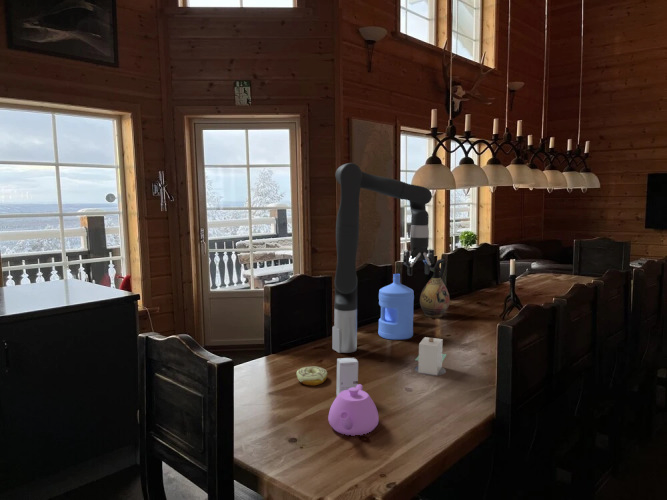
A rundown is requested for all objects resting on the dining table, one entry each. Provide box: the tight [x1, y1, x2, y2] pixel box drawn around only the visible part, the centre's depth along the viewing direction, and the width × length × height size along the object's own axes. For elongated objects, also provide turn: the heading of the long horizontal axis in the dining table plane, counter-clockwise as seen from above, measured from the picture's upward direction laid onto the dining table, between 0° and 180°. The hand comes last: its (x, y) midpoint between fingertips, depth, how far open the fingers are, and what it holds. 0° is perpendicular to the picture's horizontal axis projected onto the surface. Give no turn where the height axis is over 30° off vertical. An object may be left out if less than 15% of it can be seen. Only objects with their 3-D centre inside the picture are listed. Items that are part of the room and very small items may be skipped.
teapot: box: [327, 383, 380, 437], centre depth 133 cm, size 14×20×11 cm
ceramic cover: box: [417, 336, 444, 376], centre depth 176 cm, size 9×7×12 cm
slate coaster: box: [414, 365, 447, 377], centre depth 176 cm, size 11×11×1 cm
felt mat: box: [414, 353, 447, 363], centre depth 190 cm, size 12×10×1 cm
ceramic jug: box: [419, 258, 450, 318], centre depth 257 cm, size 17×15×30 cm
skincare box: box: [335, 357, 359, 397], centre depth 152 cm, size 6×4×12 cm
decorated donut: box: [296, 365, 328, 387], centre depth 167 cm, size 10×11×4 cm
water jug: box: [377, 273, 415, 341], centre depth 219 cm, size 16×16×28 cm
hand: (418, 274), depth 203 cm, fingers open, 8 cm apart
